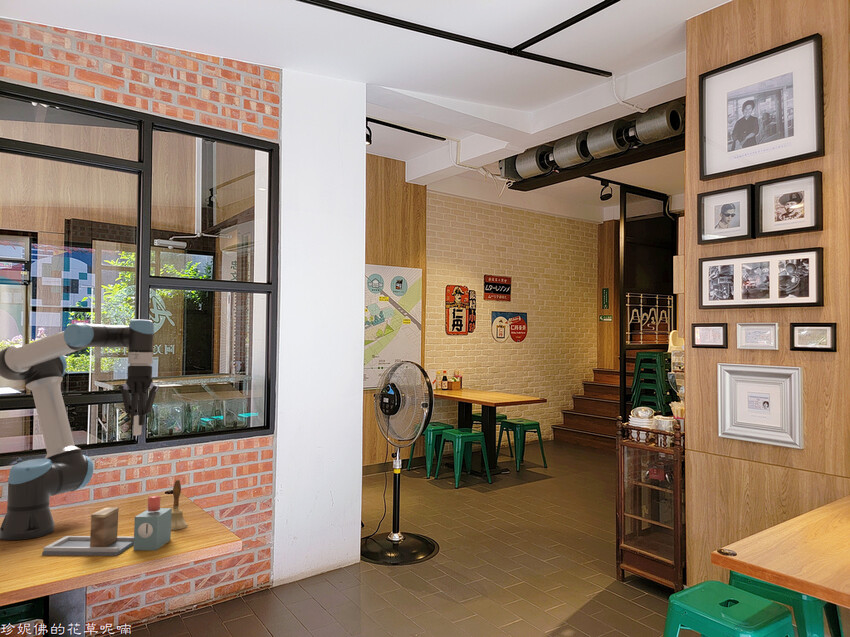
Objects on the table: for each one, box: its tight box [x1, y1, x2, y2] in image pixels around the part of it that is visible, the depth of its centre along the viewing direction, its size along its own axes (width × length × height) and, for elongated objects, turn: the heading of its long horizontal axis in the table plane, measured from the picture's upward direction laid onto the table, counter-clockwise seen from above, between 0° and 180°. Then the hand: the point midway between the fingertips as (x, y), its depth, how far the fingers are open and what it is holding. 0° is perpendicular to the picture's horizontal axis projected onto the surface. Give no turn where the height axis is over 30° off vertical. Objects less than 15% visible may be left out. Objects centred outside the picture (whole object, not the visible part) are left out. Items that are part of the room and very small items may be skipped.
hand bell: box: [171, 479, 189, 531], centre depth 201 cm, size 8×8×16 cm
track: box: [41, 535, 134, 557], centre depth 177 cm, size 22×12×2 cm, turn 90°
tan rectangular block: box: [89, 506, 120, 547], centre depth 178 cm, size 4×8×10 cm, turn 0°
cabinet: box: [133, 507, 173, 551], centre depth 181 cm, size 7×11×10 cm, turn 0°
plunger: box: [147, 495, 162, 511], centre depth 182 cm, size 4×4×4 cm
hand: (137, 434), depth 195 cm, fingers closed
